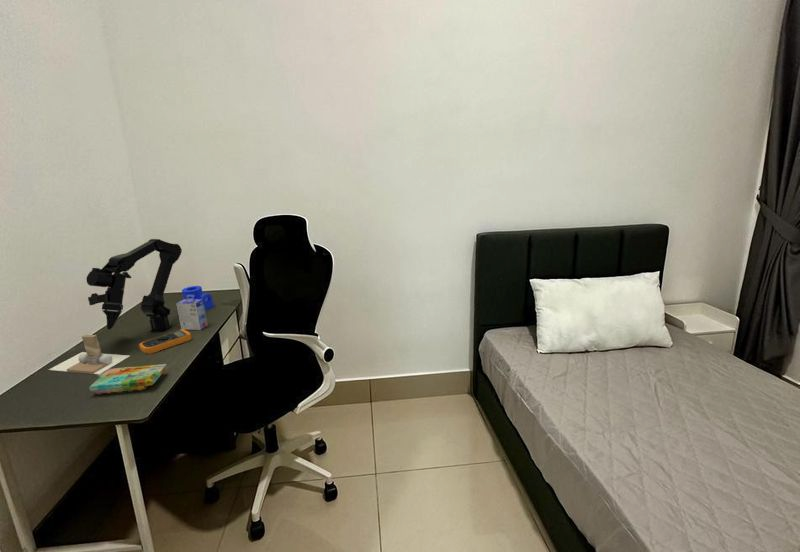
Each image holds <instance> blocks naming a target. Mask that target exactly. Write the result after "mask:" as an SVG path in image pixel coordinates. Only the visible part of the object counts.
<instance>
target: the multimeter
mask: <svg viewBox="0 0 800 552" xmlns="http://www.w3.org/2000/svg"><path fill="white" fill-rule="evenodd" d="M192 338H193V337H192V334H191V332H189V330H188V331H187V329H181V328H180V329H178V330H176V331H173V332H170V333H167V334H166V333H165V334H164V335H161V336H158V337H154V338H151V339H148V340H145V341H141V342H140V343H139V344H138V348H139V350H140V351H141V352H142V353H145V354H146V355H153V354H155V353H157V352H161V351H163V349H164V350H166V349H168V348H172V347H175V346H178V345H181V344H184V343H187V342H190V341H191V340H192ZM160 350H161V351H160Z"/></svg>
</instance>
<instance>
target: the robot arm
mask: <svg viewBox="0 0 800 552" xmlns="http://www.w3.org/2000/svg"><path fill="white" fill-rule="evenodd" d="M154 251H156V252H158V253H159V254H158V255H159V256H158V257H159V260H160V262H159V266H158V269H157V271H156V274H155V279H154V280H153V281H154V282H153V284H152V288H151V290H150V293H148V295H143V296H142V300H141V303H140V310H141V312H142V313H143V314H144V315H145V316H146V317H147V318H149V324H150V328H151V330H150V333H151V332H153V333H156V332H166V331H167V330H168V329H169V328H170V327H172V326H173V324H170V321H169V315H170V314H171V309H170V308H168V307H166V306H165V299H164V294H165V290H166V288H167V284H168V281H169V277H170V274H171V272H172V268H173V265H174V264H175V263H176V262H177V261H178V260H179V259H180V257H181V255H182V252H183V251H182V248H181V246H180V244H178V243H171V242H167V241H164V240H161V239H160V238H150V239H149V240H148V241H146V242H144V243H142V244H141V245H139V246H138V247H135V248H134V249H131V250H130V251H128V252H126V253H122V254H121V253H120V254H116V255H114V256H112V257H110V258H108V262H106V264H104V265H103V267H102V268H99V267H92V268H91V271H90V272H89V273H88V275H86V283H87V285H88V286H90V287H101V288H106V290H105V293H103V294H98V293H97V292H95V293H91V295H90V296H88V297H87V300H88V304H89V306H94V305H96V304H100V303H102V306H101V310H102V312H103V313H104V315H106V328H107V330H112V328H113V327H114V326H115V324H116V322H117V321H118V319H119V317H120V315H121V314H122V312H123V309H124V304H123V300H124V294H125V285H126V280H127V279H132V276H131V275H130V274H129V272H128V271H129V270H131V269H132V268H133V267H134V266H135V265H136V263H137V262H138V261H139V260H141V259H143V258H145V257H146V256H148V255H151V253H153V252H154Z"/></svg>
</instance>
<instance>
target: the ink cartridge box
mask: <svg viewBox="0 0 800 552" xmlns="http://www.w3.org/2000/svg"><path fill="white" fill-rule="evenodd" d="M190 296H191V297H193V298H188V297H190ZM175 305H176V308H177V313H178V315H177V316H178V318H179V325H180V330H181V329H185V330H189V331H190V330H193V331H194V330H195V331H196V330H197V331H201V330H202V329H204V328H206V327H208V326H209V325H208V323H209V322H208V320H207V315H206V313H207V312H206V310H205V308H204V303H203V299H194V295H187V297H186V300H184V299H182V300H179V301H177V303H176V304H175Z"/></svg>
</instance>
